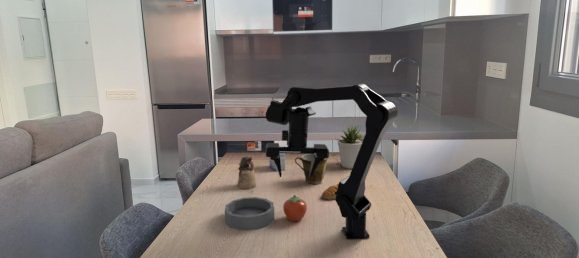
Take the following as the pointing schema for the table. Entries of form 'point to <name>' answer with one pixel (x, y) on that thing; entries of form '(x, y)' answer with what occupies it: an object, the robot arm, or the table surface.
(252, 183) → the figurine
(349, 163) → the potted plant
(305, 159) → the ceramic cup
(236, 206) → the bowl
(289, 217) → the tomato
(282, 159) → the medicine box
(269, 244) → the table surface
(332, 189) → the pastry
